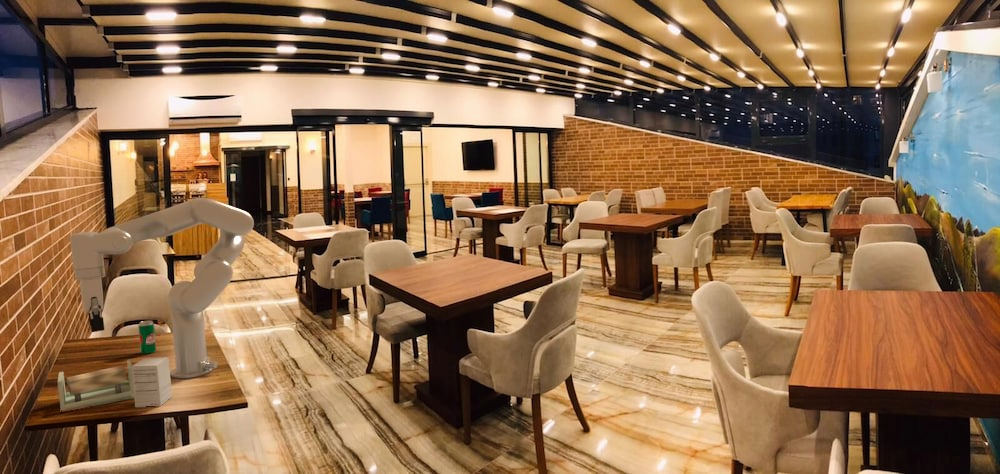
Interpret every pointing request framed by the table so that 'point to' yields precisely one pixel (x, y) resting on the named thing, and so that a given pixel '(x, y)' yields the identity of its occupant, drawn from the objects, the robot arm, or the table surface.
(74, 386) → the shelf board
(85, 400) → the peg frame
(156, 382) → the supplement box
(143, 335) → the soda can
